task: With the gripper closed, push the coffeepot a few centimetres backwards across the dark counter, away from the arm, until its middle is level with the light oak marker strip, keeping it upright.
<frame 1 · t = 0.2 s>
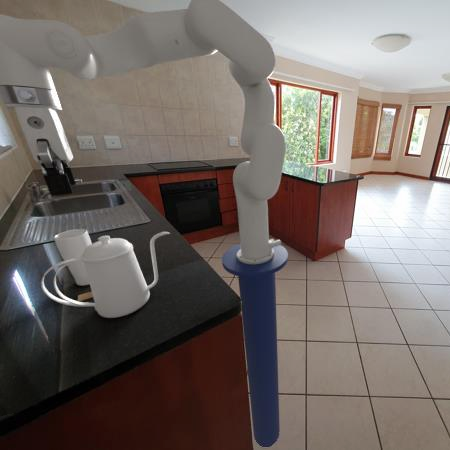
hand: (64, 189, 51), 29 cm above the counter, tool pointing down, fingers open, 9 cm apart
marker strip: (97, 293, 63), on the counter
coffeepot: (128, 303, 60), on the counter
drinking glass: (89, 281, 68), on the counter
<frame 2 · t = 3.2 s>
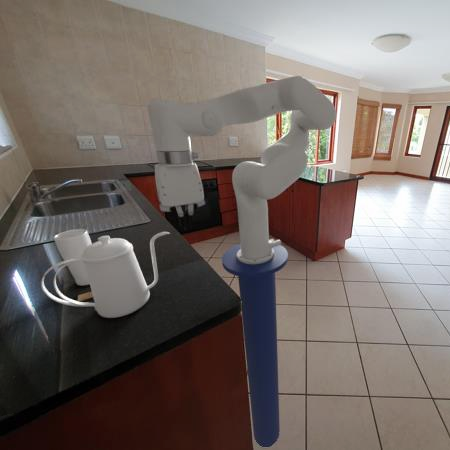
hand: (187, 228, 63), 16 cm above the counter, tool pointing down, fingers closed
nothing on the counter moved.
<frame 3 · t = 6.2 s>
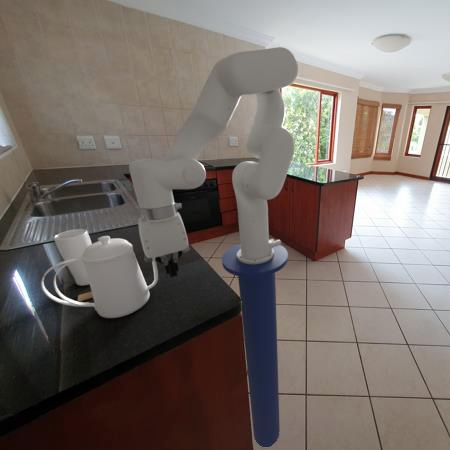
hand: (173, 274, 65), 4 cm above the counter, tool pointing down, fingers closed
coffeepot: (128, 304, 60), on the counter, touching gripper
everything else where it was.
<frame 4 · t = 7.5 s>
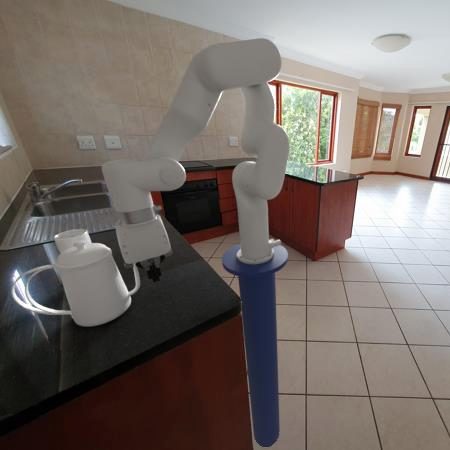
hand: (155, 279, 62), 4 cm above the counter, tool pointing down, fingers closed
coffeepot: (108, 311, 58), on the counter, touching gripper
everything else where it was.
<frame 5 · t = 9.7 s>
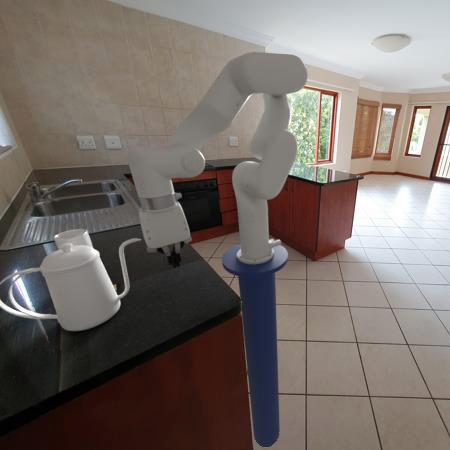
hand: (175, 265, 65), 7 cm above the counter, tool pointing down, fingers closed
coffeepot: (96, 315, 56), on the counter
everything else where it was.
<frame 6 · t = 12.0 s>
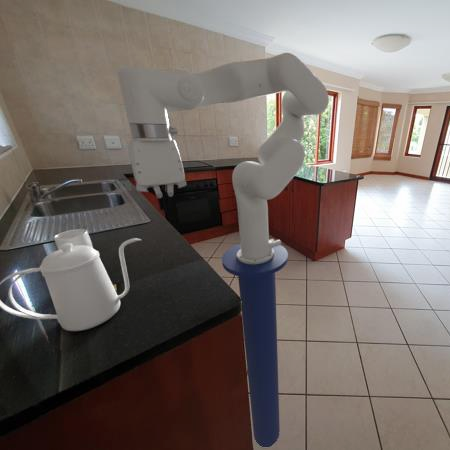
hand: (167, 211, 59), 22 cm above the counter, tool pointing down, fingers closed
nothing on the counter moved.
at the end: coffeepot inside the target area (0.7 cm from its centre), on the counter; coffeepot moved 6.3 cm from its start; coffeepot tilted 0° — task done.
